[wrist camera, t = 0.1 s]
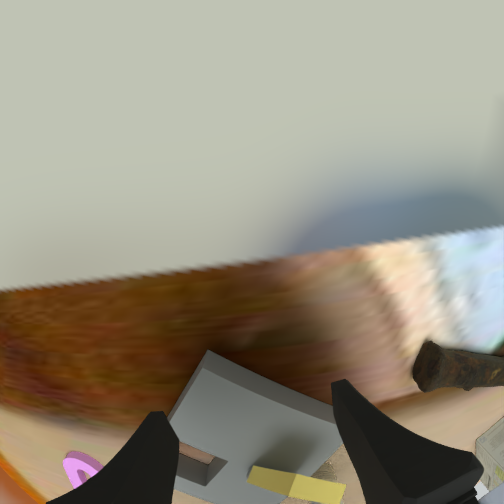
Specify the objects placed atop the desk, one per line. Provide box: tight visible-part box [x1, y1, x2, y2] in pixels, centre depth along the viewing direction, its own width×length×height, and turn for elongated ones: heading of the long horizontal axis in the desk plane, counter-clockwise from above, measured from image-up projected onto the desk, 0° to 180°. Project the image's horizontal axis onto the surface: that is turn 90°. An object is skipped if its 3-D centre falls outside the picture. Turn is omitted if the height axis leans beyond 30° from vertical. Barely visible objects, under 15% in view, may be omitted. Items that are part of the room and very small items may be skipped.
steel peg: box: [309, 464, 344, 504], centre depth 20 cm, size 3×3×8 cm
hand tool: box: [413, 340, 504, 393], centre depth 21 cm, size 19×4×5 cm, turn 73°
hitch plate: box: [167, 350, 343, 504], centre depth 21 cm, size 14×13×3 cm
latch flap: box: [246, 465, 346, 504], centre depth 17 cm, size 8×4×2 cm
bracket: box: [63, 451, 103, 489], centre depth 21 cm, size 13×6×7 cm, turn 177°
